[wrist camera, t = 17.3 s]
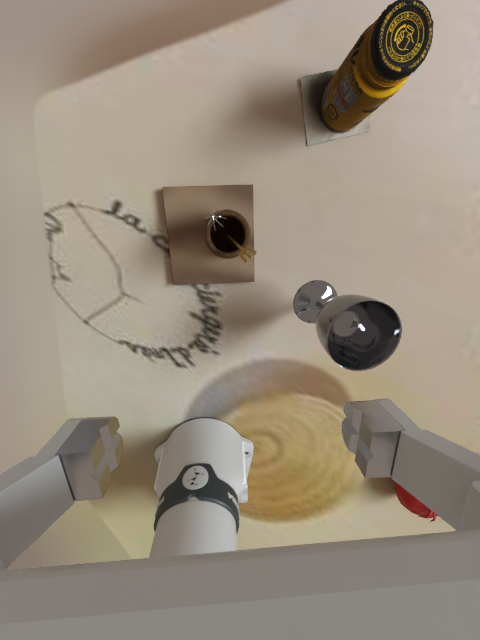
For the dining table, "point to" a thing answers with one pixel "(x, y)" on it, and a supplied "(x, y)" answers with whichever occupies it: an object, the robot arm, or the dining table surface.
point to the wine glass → (349, 325)
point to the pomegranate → (413, 503)
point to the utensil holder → (228, 235)
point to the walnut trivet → (188, 233)
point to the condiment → (367, 73)
